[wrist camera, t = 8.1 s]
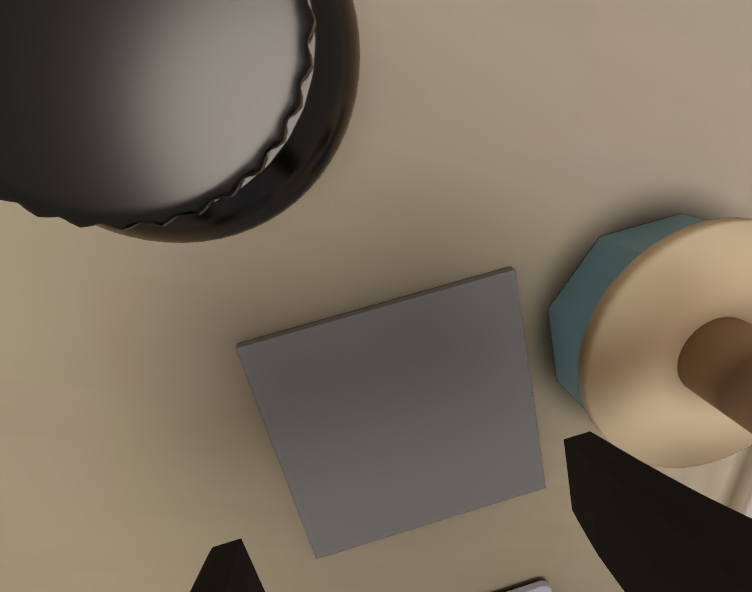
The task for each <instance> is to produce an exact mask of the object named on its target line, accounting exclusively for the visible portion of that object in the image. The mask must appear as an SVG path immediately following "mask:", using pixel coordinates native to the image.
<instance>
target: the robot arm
mask: <svg viewBox="0 0 752 592" xmlns="http://www.w3.org/2000/svg"><path fill="white" fill-rule="evenodd" d="M564 445H565V453H566V462H567V470H568V479H569V487H570V495H571V504H572V511H573V512H574V514H575V516H576V518H577V519H578V521H579V523H580V525H581V527H582V528H583V530H584V532H585V534H586V535H587V537H588V539H589V541H590V542H591V544H592V546H593V547H594V549H595V551H596V552H597V554H598V556H599V557H600V558H601V560H602V561H603V563H604V564H605V565H606V567H607V568H608V569H609V571H610V572H611V574H612V575H613V576H614V578H615V579H616V580H617V582H618V583H619V585H620V586H621V587H622V589H623V590H624V591H625V592H752V518H749V517H747V516H745V515H743V514H741V513H739V512H737V511H735V510H733V509H731V508H728V507H726V506H724V505H722V504H720V503H718V502H716V501H714V500H712V499H710V498H708V497H706V496H704V495H702V494H700V493H698V492H696V491H694V490H692V489H691V488H689V487H687V486H685V485H683V484H681V483H679V482H678V481H676V480H674V479H672V478H670V477H668V476H667V475H665V474H663V473H661V472H659V471H658V470H656V469H654V468H652V467H650V466H649V465H647V464H645V463H644V462H642V461H640V460H638V459H637V458H635V457H633V456H631V455H630V454H628V453H626V452H625V451H623V450H621V449H619V448H618V447H616V446H614V445H613V444H611V443H609V442H607V441H606V440H604V439H602V438H601V437H599V436H597V435H595V434H594V433H592V432H587V433H583V434H580V435H577V436H574V437H570V438H567V439H564ZM190 592H265V591H264V588H263V586H262V584H261V582H260V580H259V577H258V575H257V573H256V571H255V568H254V566H253V564H252V562H251V559H250V557H249V555H248V553H247V550H246V548H245V546H244V544H243V541H242V539H238V540H235V541H231V542H228V543H225V544H222V545H218V546H215V547H213V548H212V549H211V551H210V553H209V554H208V556H207V558H206V560H205V562H204V564H203V566H202V568H201V571H200V573H199V575H198V577H197V579H196V581H195V583H194V585H193V587H192V589H191V591H190ZM507 592H552V590H551V588H550V586H549V584H548V583H547V582H546V581H538V582H535V583H532V584H528V585H525V586H522V587H519V588H516V589H513V590H510V591H507Z"/></svg>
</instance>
